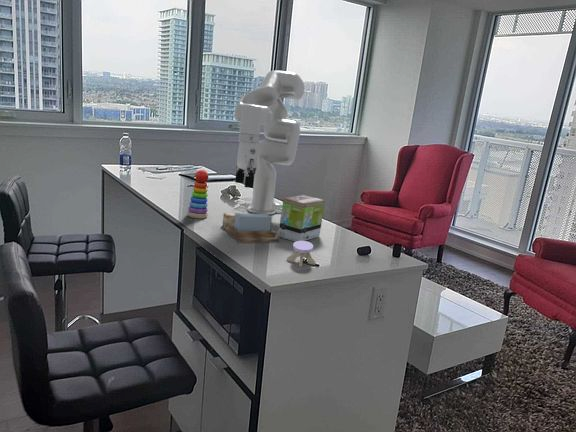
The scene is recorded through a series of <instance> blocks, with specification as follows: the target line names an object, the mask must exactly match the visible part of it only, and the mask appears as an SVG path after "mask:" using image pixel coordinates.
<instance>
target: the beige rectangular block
mask: <svg viewBox="0 0 576 432" xmlns="http://www.w3.org/2000/svg"><path fill="white" fill-rule="evenodd" d="M235 214H236V213H234V212H223V217H222V218H223V219H222V227H224V228H225V227H228V225H234V224H235ZM241 214H249V213H247V212H245V213H241Z"/></svg>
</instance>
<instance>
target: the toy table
mask: <svg viewBox="0 0 576 432" xmlns="http://www.w3.org/2000/svg"><path fill="white" fill-rule="evenodd" d="M292 248H293V249H292V250H294V251H293V253H291V254H290V255H288V256H287V257H286V261H287V262H293V263H294V262H296V259H297V258H299V263H298V267H299V268H300V267H301V268H302V267H303V261H304V258H305V259H306V261H307V265H314V266H315V265H317V262H316V259H315V258H313V256H312V255H311V252H313V251H314V250H313V249H314V244H313V243H312V242H310V241H308V240H305V241H296V242H295V241H293V243H292Z"/></svg>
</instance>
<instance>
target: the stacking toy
mask: <svg viewBox="0 0 576 432" xmlns="http://www.w3.org/2000/svg"><path fill="white" fill-rule="evenodd" d="M194 178H195V180H196V181H195V182H194V184H193V185H194V186H193V188H192V193H191V195H192V196H191V197H190V202H189V206H188V207H187V208H188V211H187V213H186V214H187V216H188V217H190V218H193V219H206V218H207V217H208V195H209V194H208V193H207V192H208V189H207V187H208V183H207V181H208V180H209V173H208V172H207V171H206V170H205V169H200V170H199V169H198V170H197V171H196V173H195V175H194Z"/></svg>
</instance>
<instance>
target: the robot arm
mask: <svg viewBox="0 0 576 432" xmlns="http://www.w3.org/2000/svg"><path fill="white" fill-rule="evenodd" d="M300 76H301V75H299V74H297V73H295V72H292V71H284V70H270V71H269V72H268V73H266V75H265V77H264V79H263V81H262V82H261V83H260V86H259V87H258V88H256V89H254V90H251V91H248V92H246V93H245V94H244V95H242V96H241V98H240V99H239V100H238V102H237V104H236V106H235V110H234V119H235V121H236V122H237V123H239V131H238V140H237V141H238V143H239V145H238V150H237V156H236V170H235V180H234V181H235V183H236V184H244V188H247V189H249V188H252V196H251V197H252V198H251V205H250V206H248V207H247V211H248V212H250V213H251V214H267V215H269V216H271V215H275V214H276V213H277V212H276V210H277V209H282V205H283V203H280V204H279V203H275V201H274V199H275V190H276V183H277V182H276V181H277V171H276V168H275V167H274V165H273V164H276V165H283V166H291V165H292V164H293V163H294V161H295V159H296V154H297V149H298V145H299V140H300V136H301V135H300V134H301V126H300V124H299V122H298V121H295V120H293V119H287V115H288V109H287V107H286V104H285V103H284V102H283V100H282V99H289V100H300V99H302V98H303V97H304V94H305V88H306V87H305V83H304V81H303V80H302V78H301V77H300ZM281 98H282V99H281ZM261 127H263V136H264V137H265V139H262V140H260V135H261ZM245 174H246V176H245Z"/></svg>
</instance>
